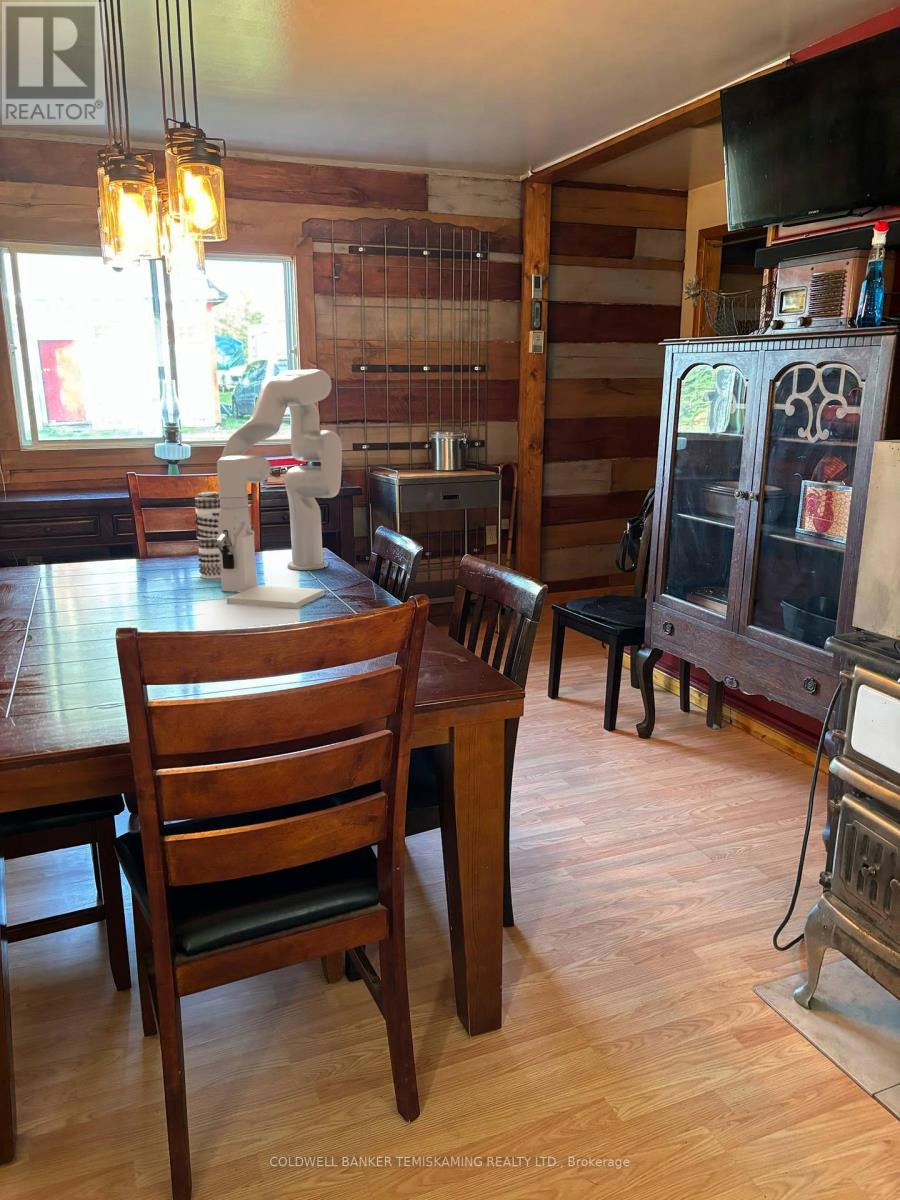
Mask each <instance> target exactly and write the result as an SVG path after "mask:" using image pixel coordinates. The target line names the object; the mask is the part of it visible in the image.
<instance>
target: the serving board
mask: <svg viewBox="0 0 900 1200" xmlns="http://www.w3.org/2000/svg"><path fill="white" fill-rule="evenodd" d="M323 596H325V589H323V588H322V589H321V588H310V587H309V588H308V587H293V586H278V585H275V586H274V585H263V584H262V585H261V584H260V585H259V584H257V586H255V587H253V588H250V589H248V590H245V591H242V592H236V593H235V594H232V595H229V596H228V597H226V604H228V603H229V604H228V605H244V606H259V607H272V608H283V609H284V608H286V609H298V608H300V607H303V606H304V605H306V604H308V603H310V602H312V601H315V600H316V599H317V600H318V599H319V598H321V597H323Z"/></svg>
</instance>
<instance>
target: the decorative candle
mask: <svg viewBox="0 0 900 1200" xmlns="http://www.w3.org/2000/svg"><path fill="white" fill-rule="evenodd" d="M193 499H195V500H194V501H195V514H194V515H193V518H194V519H195V520H194V524H195V525H196V526H195V531H196V533H195V535H196V538H197V540H198V553H197V556H198V557H199V558H198V562H199V564H198V568H199V570H198V571H199V573H200V574H199V577H200V578H201V577H202V578H203V579H221V566H220V552H219V546H218V544H217V540H218V517H219V510H221V509H220V500H219V492H217V491H203V492H202V491H201V492H198V494H197V495H196V497H194V498H193Z"/></svg>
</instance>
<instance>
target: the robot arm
mask: <svg viewBox="0 0 900 1200" xmlns="http://www.w3.org/2000/svg"><path fill="white" fill-rule="evenodd" d="M331 390H332V379H331V377H330V375H329V374H328V373H327V372H326V371H325V370H323V369H295V370H294V369H290V370H285V371H281V372H280V373H279V374H278V375H277V376H270V377H268V378H266V379H264V382H262V385H261V387H260V390H259V392H258V397H257V398H256V401H255V404H254V407H253V409H252V412H251V415H250V418H249V419H248V421H246V422H245V423H243V424H242V425H241V426H240V427H239V428H238V429H237V430H235V432H234V433H233V434H231V436H230V437H229V439H227V441H226V443H225V446H224V448H223V449H222V453H221V456H220V458H219V459H218V460H217V462H216V467H217V468H216V470H217V486H218V493H219V500H220V509H221V510H219V517H218V540H217V544H218V546H219V550H220V551H221V554H222V560H223V568H224V569H234V556H233V554H232V551H233V548H234V546H236V542H237V537H238V535H239V533H240V532H241V530H242V528H243V526H244V522H248V527H249V528H250V530H251V531H252V533H253V534H254V535H255V531H254V530H253V529H252V523H251V515H250V512H249V511H250V510H249V496H248V495H249V494H248V483H262V482H265V481H266V480H267V479H268V478H269V477H270V474H271V471H272V466H271V463H270V461H269V460H268V459H267V458H266V457H264V456H262V455H256V454H245V453H246V452H247V451H248V450H249V449H250V448H251V447H253V446H254V445H257V444H258V443H260V442H263V441H265V440H268V439H270V438H272V437H273V436H275V435H276V434H277V433H278V432H279V431H280V428H281V425H282V422H283V419H284V416H285V413H286V411H287V408H289V411H290V415H291V431H290V432H291V433H290V450H291V451H290V452H291V456H292V457H293V458H294V459H295V460H297V461H300V462H314V463H315V462H317V463H318V462H319V463H320V466H318V465H296V466H293V467H291V468H289V469H288V470H287V471H286V473H285V475H284V486H285V491H286V495H287V498H288V499H287V500H288V507H289V508H288V509H289V521H290V522H289V523H290V525H289V526H290V539H291V540H290V541H291V543H290V545H291V559H292V561H289V562H288V563H287V568H288V569H290V570H294V571H312V570H320V569H324V567H325V568H327V567H328V566H329V564H328V563H329V562H328V561H326V560H324V559H323V558H324V557H326V556H327V550H323V536H322V533H323V532H322V515H321V513H322V512H321V507H320V506H319V504H318V502H317V500H316V499H315V498H321V499H322V498H323V499H327V498H328V499H331V498H334V497H336V496H337V495H338V494H339V493H340V490H341V484H342V465H343V464H342V463H343V446H342V441H341V438H340V436H339V435H338V434H337V433H336V432H335V431H332V430H329V429H328V430H326V429H320V413H319V410H318V408H317V406H316V404H315V403H317V402H320V401H322V400H324V399H326V398H327V397H328V396H329V395H330V393H331ZM246 534H249V532H248V531H247V530H246V531H245V534H244V535H246ZM227 537H228V538H229V540H230V541H231V543H226V538H227ZM227 547H229V549H228V548H227Z"/></svg>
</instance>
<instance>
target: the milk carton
mask: <svg viewBox="0 0 900 1200" xmlns="http://www.w3.org/2000/svg"><path fill="white" fill-rule="evenodd" d="M246 530H247V531H248V532H249V534H246V535H244V534H245V531H246ZM226 543H231V541H230V540H229V538H228V537H227V538H226ZM227 548H228V549H229V547H227ZM255 549H256V548H255V534H253V533H252V531H251V530H250V528H249V527H248V522H244V526H243V528H242V530H241V532H240V533H239V535H238V537H237V542H236V546H234V548H233V551H232V554H233V556H234V569H224V568H223V560H222V554H221V551H220V550H219V552H220V566H221V578H220V579H221V589H222V591H223V592H236V593H240V592H242V591H245V590H248V589H250V588H253V587H255V586H258V582H257V581H258V579H257V566H256V565H257V563H256V551H255Z"/></svg>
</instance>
